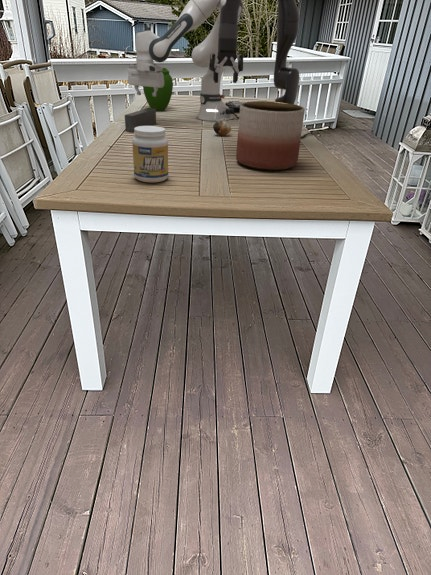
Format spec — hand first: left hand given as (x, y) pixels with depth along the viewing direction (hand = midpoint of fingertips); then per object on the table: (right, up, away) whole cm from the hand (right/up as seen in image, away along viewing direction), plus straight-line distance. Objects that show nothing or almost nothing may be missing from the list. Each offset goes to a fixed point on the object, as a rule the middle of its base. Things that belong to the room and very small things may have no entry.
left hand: (146, 95), depth 220 cm
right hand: (+41, -18, -50) cm, 67 cm away
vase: (0, +13, +48) cm, 50 cm away
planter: (+58, -52, -50) cm, 93 cm away
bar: (-3, -17, 0) cm, 17 cm away
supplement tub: (+14, -64, -73) cm, 99 cm away
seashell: (+40, -25, -8) cm, 48 cm away
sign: (+53, +22, +67) cm, 88 cm away
